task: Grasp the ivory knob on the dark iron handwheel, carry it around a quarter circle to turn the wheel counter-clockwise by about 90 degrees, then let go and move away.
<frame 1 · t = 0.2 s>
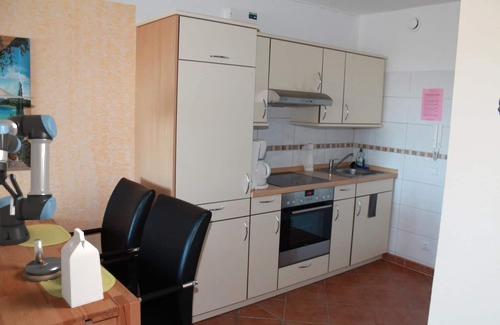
milk: (82, 297, 160), on the table
wheel base: (46, 273, 180), on the table
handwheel: (44, 255, 179), point 8 cm above the table, hinge at 0.0°
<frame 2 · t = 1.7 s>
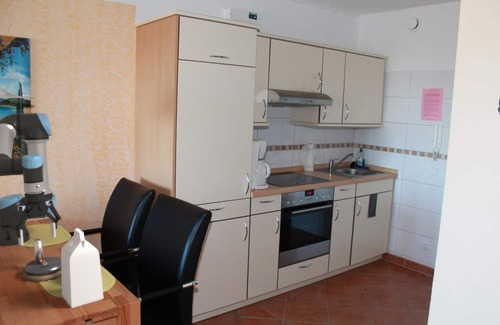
hand: (37, 240, 181), 13 cm above the table, tool pointing down, fingers open, 13 cm apart
nothing on the table moved.
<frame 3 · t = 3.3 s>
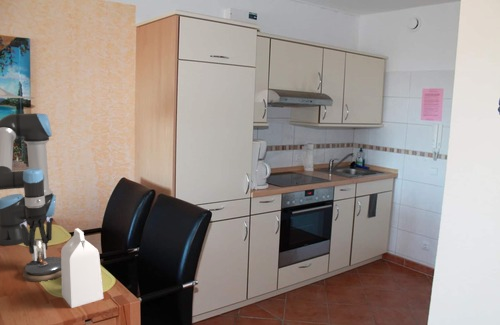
hand: (39, 258, 183), 5 cm above the table, tool pointing down, fingers closed on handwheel, 3 cm apart
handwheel: (44, 255, 179), point 8 cm above the table, hinge at 0.0°, touching gripper
everything else where it was.
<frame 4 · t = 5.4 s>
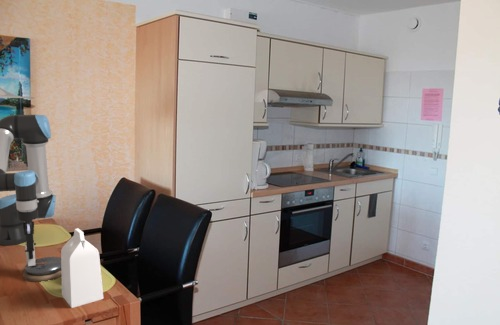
hand: (31, 263, 178), 5 cm above the table, tool pointing down, fingers open, 4 cm apart
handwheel: (44, 255, 179), point 8 cm above the table, hinge at 53.1°, touching gripper
everything else where it was.
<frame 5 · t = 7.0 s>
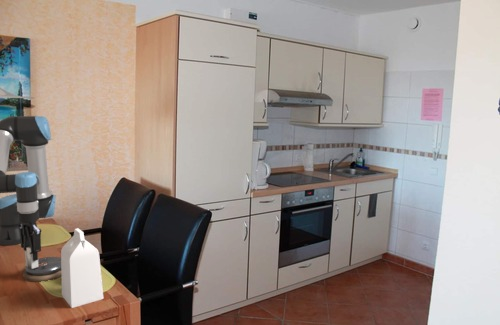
hand: (32, 266, 175), 5 cm above the table, tool pointing down, fingers closed on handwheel, 3 cm apart
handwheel: (44, 255, 179), point 8 cm above the table, hinge at 93.1°, touching gripper
everything else where it was.
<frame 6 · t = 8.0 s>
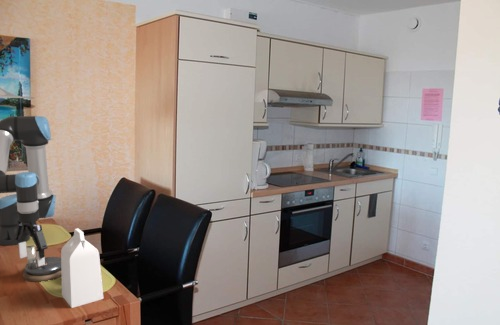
hand: (32, 261, 175), 7 cm above the table, tool pointing down, fingers open, 13 cm apart
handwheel: (44, 255, 179), point 8 cm above the table, hinge at 93.4°
everything else where it was.
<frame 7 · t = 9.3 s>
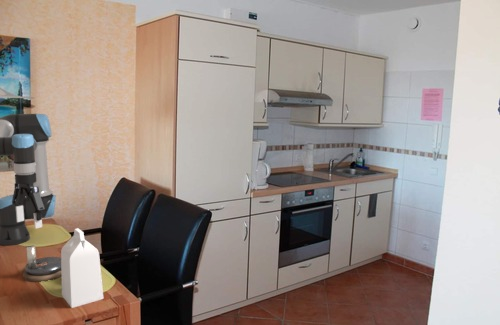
hand: (29, 224, 173), 23 cm above the table, tool pointing down, fingers open, 13 cm apart
nothing on the table moved.
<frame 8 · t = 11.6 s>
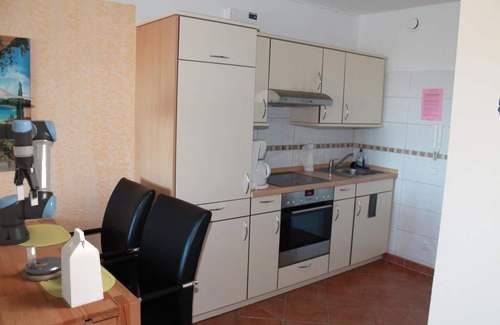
hand: (27, 202, 191), 27 cm above the table, tool pointing down, fingers open, 13 cm apart
nothing on the table moved.
at the end: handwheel at +93° (first picture: +0°); the gripper is holding nothing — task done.
